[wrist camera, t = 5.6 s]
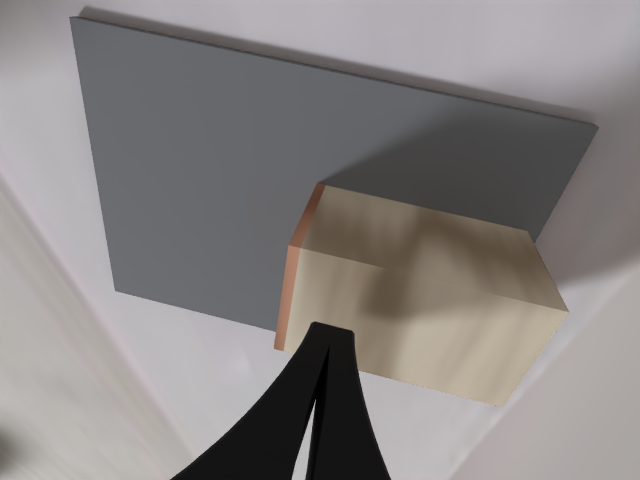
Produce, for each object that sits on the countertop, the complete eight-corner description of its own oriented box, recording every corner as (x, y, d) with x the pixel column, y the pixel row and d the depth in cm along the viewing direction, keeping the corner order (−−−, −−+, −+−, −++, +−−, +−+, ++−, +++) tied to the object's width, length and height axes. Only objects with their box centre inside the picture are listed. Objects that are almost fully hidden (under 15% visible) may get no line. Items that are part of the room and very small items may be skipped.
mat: (119, 286, 23) (115, 290, 23) (76, 16, 15) (69, 17, 15) (458, 372, 22) (458, 378, 22) (594, 124, 14) (598, 127, 14)
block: (273, 348, 16) (502, 407, 15) (288, 245, 13) (569, 312, 12) (301, 273, 20) (481, 316, 19) (316, 182, 17) (527, 231, 16)
